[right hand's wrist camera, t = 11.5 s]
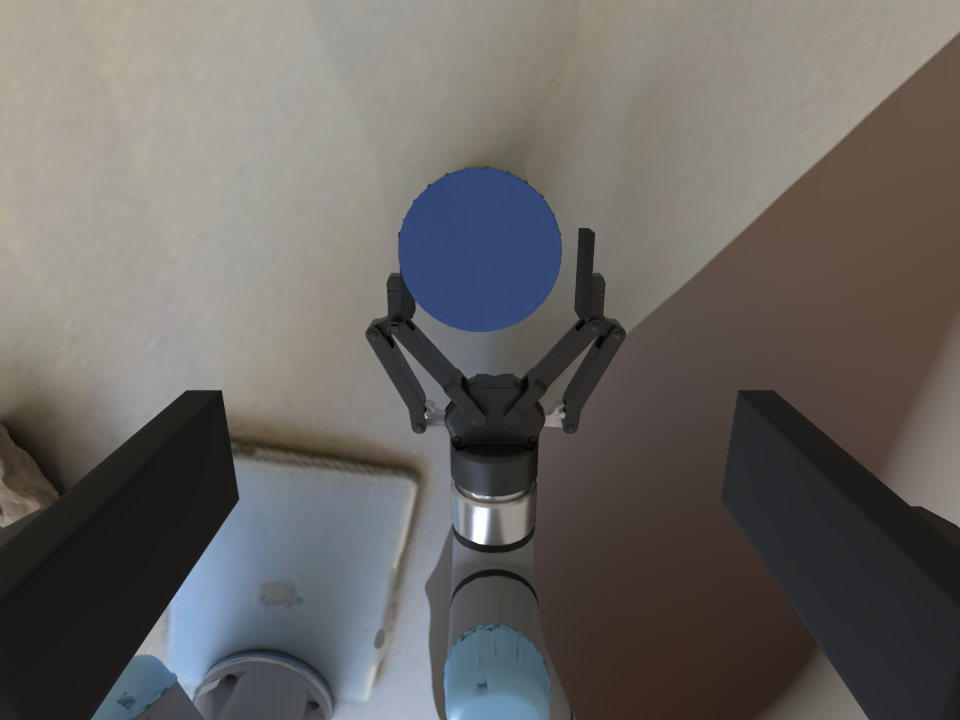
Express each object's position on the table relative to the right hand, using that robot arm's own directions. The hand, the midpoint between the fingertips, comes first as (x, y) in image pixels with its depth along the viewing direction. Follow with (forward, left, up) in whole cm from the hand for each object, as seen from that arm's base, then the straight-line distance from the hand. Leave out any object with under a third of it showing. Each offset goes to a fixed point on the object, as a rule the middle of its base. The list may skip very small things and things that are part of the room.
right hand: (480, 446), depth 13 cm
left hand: (-1, +1, -34) cm, 34 cm away
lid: (0, 0, -24) cm, 24 cm away
